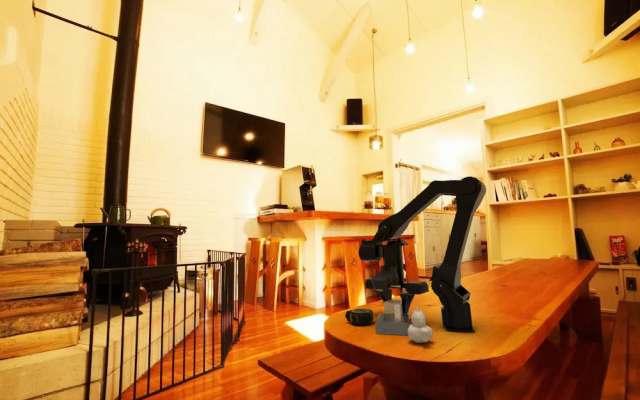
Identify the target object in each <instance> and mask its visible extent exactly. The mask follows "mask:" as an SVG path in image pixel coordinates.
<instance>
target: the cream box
mask: <svg viewBox="0 0 640 400" xmlns="http://www.w3.org/2000/svg"><path fill="white" fill-rule="evenodd" d="M394 302H400V306H401V314H403V312H402V299H401V298H400V299H398V298H392V300H389V301H386V302H384V303H383V310H384V311H383V312H384V313H388V314H395V310H394ZM407 314H409V320H410V319H411V316H410V309H409V310H408V313H407Z"/></svg>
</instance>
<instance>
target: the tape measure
mask: <svg viewBox="0 0 640 400" xmlns="http://www.w3.org/2000/svg"><path fill="white" fill-rule="evenodd" d="M344 315H345V318H346V321H347V322H350V323H352V324H354V325H361V326H366V325H369V324H371V323H373V321H374V312H373V310H372V309H370V308H356V309H350V310H347V311H346V312H345V314H344Z"/></svg>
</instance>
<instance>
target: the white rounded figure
mask: <svg viewBox="0 0 640 400" xmlns="http://www.w3.org/2000/svg"><path fill="white" fill-rule="evenodd" d="M410 319H411V320H410V321H411V324H410V327H409V328H408V336H407V337H409V339H410V340H411V341H413V342H414V343H418V344H425V343H428V342H429V341H430V340H432V339H433V337H434V330H433V329H432V328H431V326H428V325H426V323H427V321H426V315H425V313H424V312H423V310H422V309H420V310H419V308H418V306H417V305H416V306H415V309H414V310H413V312H412V314H411V316H410Z"/></svg>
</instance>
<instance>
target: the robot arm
mask: <svg viewBox="0 0 640 400" xmlns="http://www.w3.org/2000/svg"><path fill="white" fill-rule="evenodd" d="M486 193H487V186H486V185H485V183H484V182H482V180H480V179H478V177H476V176H475V177H474V176H469V175H468V176H465V177H463V178H461V179H448V180H439V179H434V180H432V181H431V182H429V184H428V185H427V186H426V187H425V188H424V189H423V190H422V191H420V193H419V194H417V195H416V196H415V197H414V198H413V199H412V200H410V201H409V202H408V203H407V204H406V205H405V206H404V207H402V208H401V210H399V211H398V212H396V213H394V214H391V215H390V216H387V217H386V218H384V219H383V220H381V221H380V222H379V223H378V225H377V231H376V233H375V235H374V236H373V238H372V240H371V239H361V244H360V245H359V247H358V249H359V250H358V251H357V252H358V258H359V259H360V260H361V262H380V261H381V260H382V263H383V264H381V265H380V271H379V272H377V273H376V274H375V275H374V276H372V277H370V278H366V280H365V282H364V289H365V290H366V289H368V290H373V292H374V293H376V294H378V295H379V297H380V298H381V300H382V302H383V304H384V302H386V301H389V300H392V299H393V289H397V290H402V292H401V293H398V295H399V297H400V300H402V312H403V314H407V313H408V310H409V311H410V308H411V304H412V301H413V300H414V297H415V296H416V295H423V294H425V293H428V292H430V290H429V287H430V289H431V290H432V292H433V294H434V295H435V296H436V297H438V300H439V301H440V304H441V305H442V306H441V307H440V314H441V315H440V316H441V317H440V318H441V324H442V326H443V327H444V329H445V331H448V332H449V331H450V332H469V333H474V332H475V330H476V329H475V328H474V326H473V320H472V319H473V318H472V310H471V309H472V308H471V303H470V302H469V301H470V298H471V295H472V293H471V292H470V291H469V290H468V289H466V288H465V286H463V285H462V284H461V283H462V270H461V269H462V268H461V263H462V261H463V260H462V259H463V257H464V252H465V249H466V245H467V241H468V238H469V233H470V230H471V228H472V227H471V226H472V223H473V220H474V215H475V214H476V212H477V210H478V209H479V207H480V205H481V204H482V202H483V199H484V198H485V195H486ZM441 196H447V197H449V196H451V197H455V205H456V206H455V207H456V211H455V215H454V219H453V223H452V227H451V230H450V234H449V238H448V242H447V245H446V248H445V253H444V257H443V261H442V262H441V263H440V264H437V265H434V266H432V274H431V277H430V279H428V280H429V282H431V283H430V286H429V284H428V283H427V282H426V281H422V280H412V281H408V280H407V278H406V277H405V273H404V272H405V271H404V269H406V268H407V267H406V264H404V263H403V261H404V260H403V249H402V247H405V246H408V245H409V242H407V241H406V240H405V239H404V238H403V237H401V236H402V235H403V234H404V233H405V231H406V230H407V229H408V227H409V225H410V223H411V222H412V221H413V220H414V219H415V218H417V217H418V216H419V215H420V214H421V213H423V212H424V211H425V210H426V209H427V208H428V207H430V206H431V204H433V203H434V202H436V201H437V200H438V199H439V198H440V197H441ZM393 239H397V240H393ZM383 243H385V244H383ZM407 281H408V282H407Z"/></svg>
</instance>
